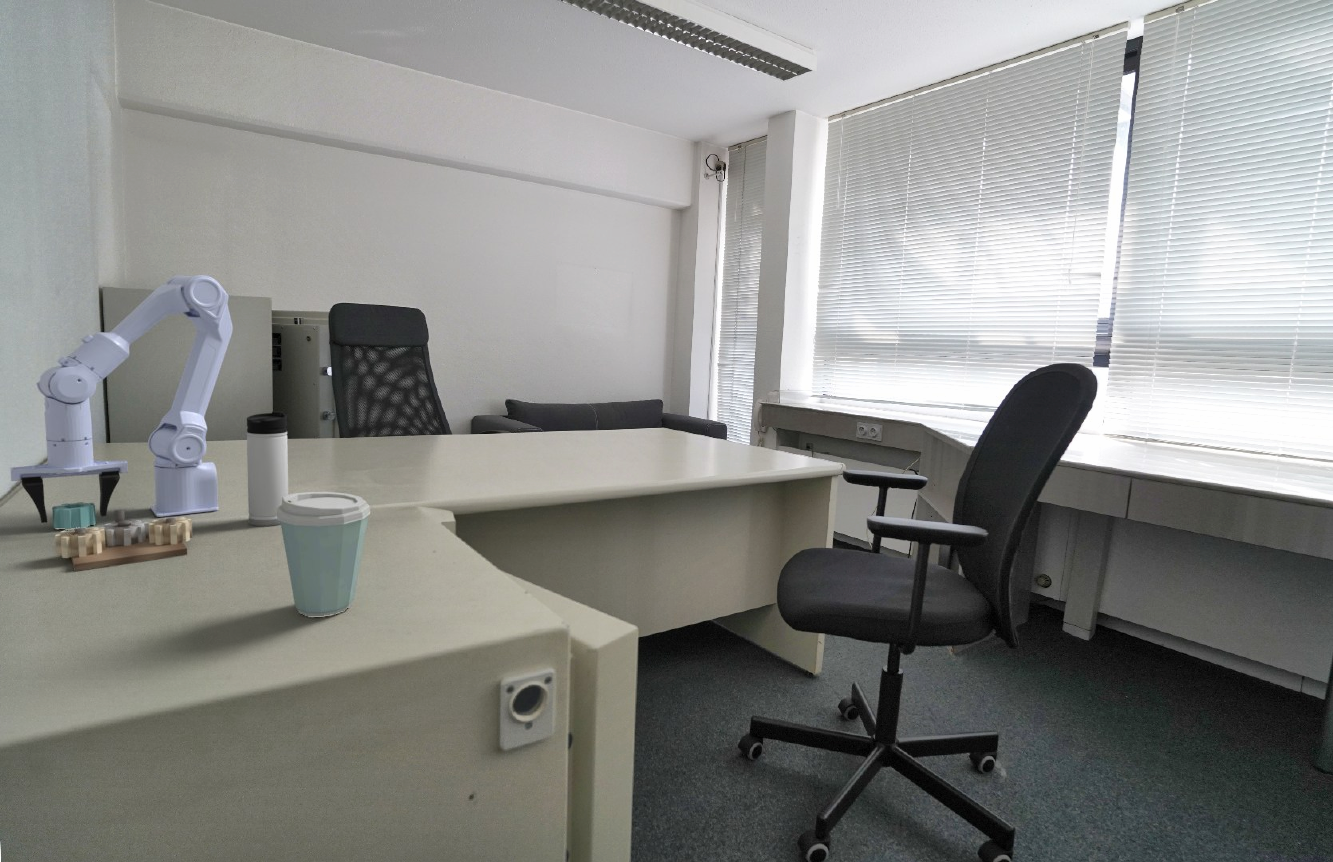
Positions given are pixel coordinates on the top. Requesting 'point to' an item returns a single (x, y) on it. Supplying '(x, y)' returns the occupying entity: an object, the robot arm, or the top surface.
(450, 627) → the top surface
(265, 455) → the travel mug
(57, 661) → the top surface
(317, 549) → the disposable coffee cup
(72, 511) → the teal gear
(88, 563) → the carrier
